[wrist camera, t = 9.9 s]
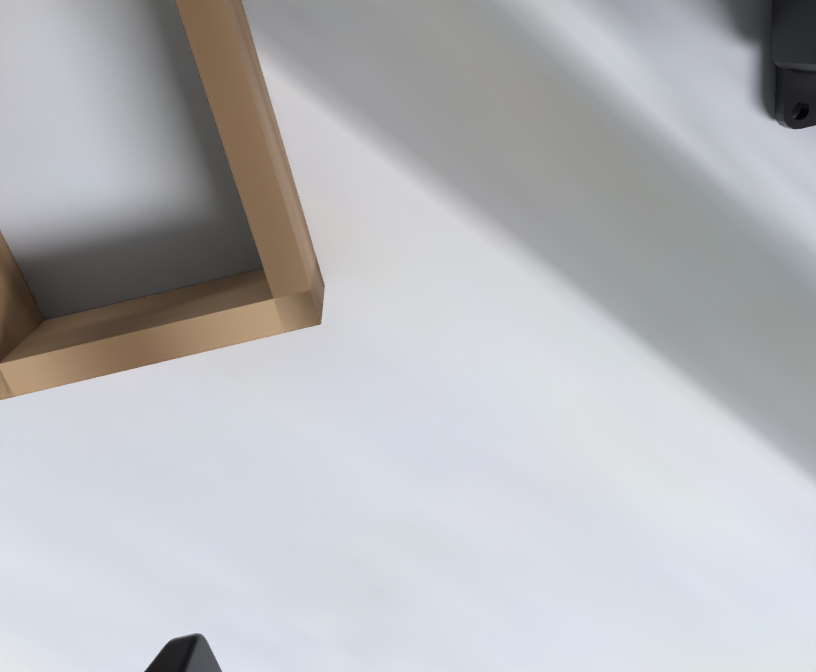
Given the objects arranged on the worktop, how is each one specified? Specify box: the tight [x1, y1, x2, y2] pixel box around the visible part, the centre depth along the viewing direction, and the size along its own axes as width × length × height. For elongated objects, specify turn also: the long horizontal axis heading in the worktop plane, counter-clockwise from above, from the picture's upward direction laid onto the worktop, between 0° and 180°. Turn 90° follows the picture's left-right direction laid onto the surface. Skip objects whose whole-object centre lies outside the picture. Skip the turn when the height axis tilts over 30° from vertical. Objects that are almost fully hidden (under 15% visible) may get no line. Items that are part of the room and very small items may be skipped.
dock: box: [0, 0, 325, 400], centre depth 16 cm, size 10×14×3 cm, turn 12°
